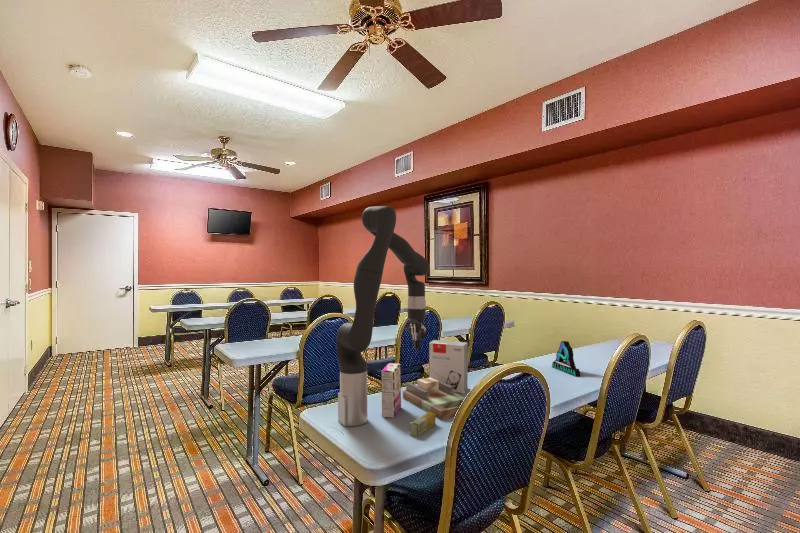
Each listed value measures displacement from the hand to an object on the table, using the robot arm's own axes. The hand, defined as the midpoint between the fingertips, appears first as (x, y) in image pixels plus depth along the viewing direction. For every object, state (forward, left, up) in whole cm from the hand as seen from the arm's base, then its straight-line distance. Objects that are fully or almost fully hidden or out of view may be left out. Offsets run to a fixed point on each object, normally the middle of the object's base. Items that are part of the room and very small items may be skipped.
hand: (417, 349), depth 165 cm
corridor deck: (0, -15, -18) cm, 24 cm away
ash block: (0, -8, -15) cm, 17 cm away
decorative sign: (+81, -8, -19) cm, 84 cm away
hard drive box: (+15, -1, -19) cm, 24 cm away
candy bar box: (-19, -13, -19) cm, 30 cm away
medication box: (-17, -31, -19) cm, 41 cm away
